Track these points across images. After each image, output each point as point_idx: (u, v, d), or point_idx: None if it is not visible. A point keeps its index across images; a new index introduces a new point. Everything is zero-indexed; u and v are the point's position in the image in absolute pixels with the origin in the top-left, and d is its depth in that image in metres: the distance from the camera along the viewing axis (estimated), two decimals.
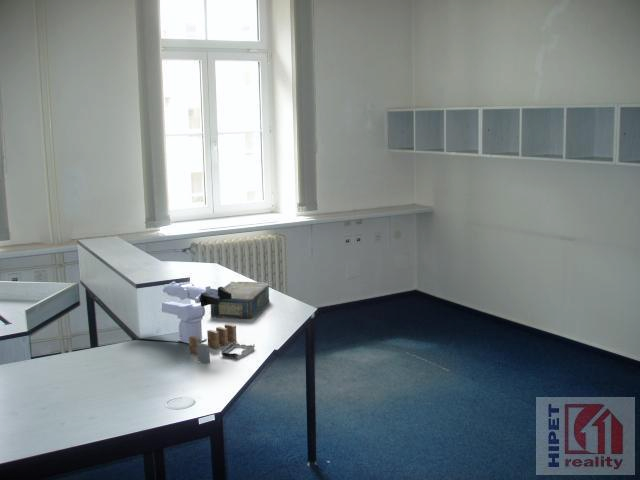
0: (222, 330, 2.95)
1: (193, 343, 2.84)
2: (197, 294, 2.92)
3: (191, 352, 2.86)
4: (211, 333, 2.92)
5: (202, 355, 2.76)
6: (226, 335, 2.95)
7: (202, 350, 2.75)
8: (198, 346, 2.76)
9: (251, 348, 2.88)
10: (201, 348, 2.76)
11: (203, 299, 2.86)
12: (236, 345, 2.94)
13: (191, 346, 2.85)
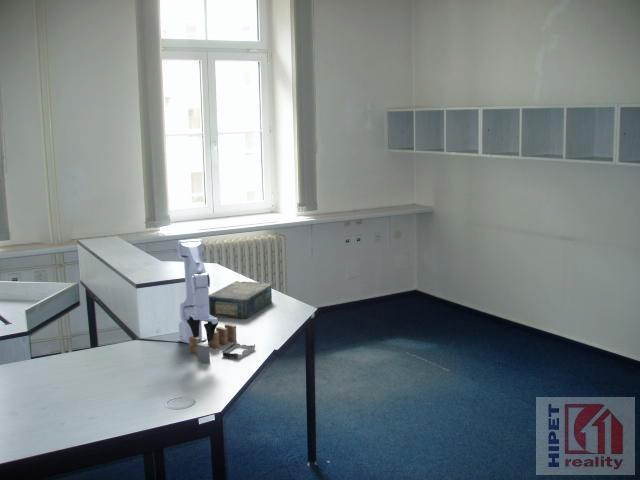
0: (222, 330, 2.95)
1: (193, 343, 2.84)
2: None
3: (191, 352, 2.86)
4: None
5: (202, 355, 2.76)
6: (226, 335, 2.95)
7: (202, 350, 2.75)
8: (198, 346, 2.76)
9: (251, 348, 2.88)
10: (201, 348, 2.76)
11: None
12: (237, 345, 2.94)
13: (191, 346, 2.85)
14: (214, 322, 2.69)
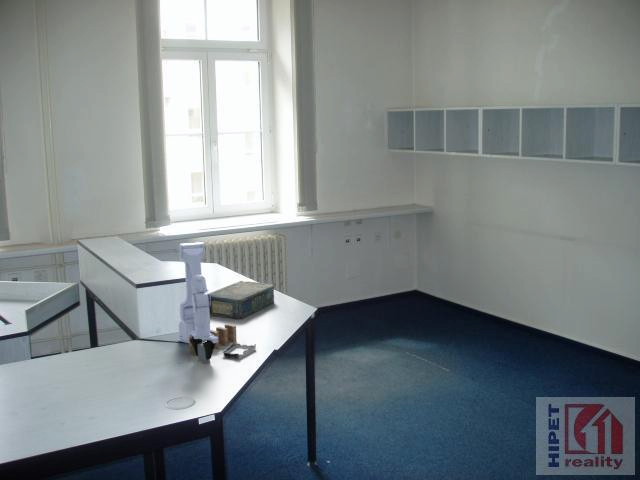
0: (222, 330, 2.95)
1: None
2: None
3: (191, 352, 2.86)
4: (211, 333, 2.92)
5: (202, 355, 2.76)
6: (226, 335, 2.95)
7: (202, 350, 2.75)
8: (198, 346, 2.76)
9: (252, 348, 2.88)
10: (201, 348, 2.76)
11: None
12: (237, 345, 2.93)
13: (191, 346, 2.85)
14: (215, 341, 2.71)
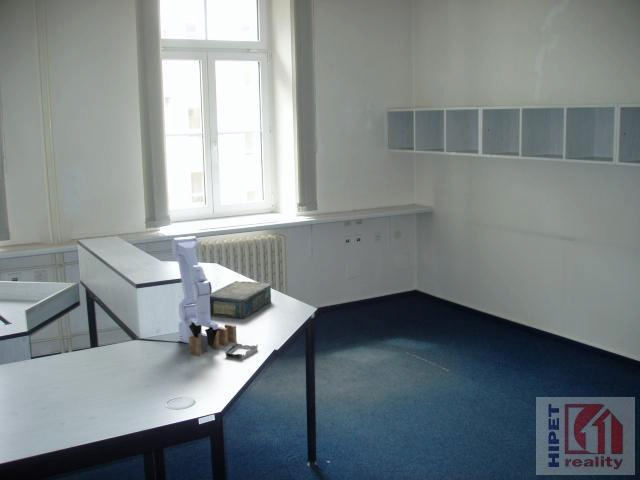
0: (222, 330, 2.95)
1: (193, 343, 2.84)
2: None
3: (191, 352, 2.86)
4: None
5: (203, 344, 2.88)
6: (226, 335, 2.95)
7: (203, 339, 2.88)
8: (199, 336, 2.89)
9: (254, 349, 2.88)
10: (202, 338, 2.88)
11: None
12: (239, 346, 2.93)
13: (191, 346, 2.85)
14: (215, 328, 2.83)
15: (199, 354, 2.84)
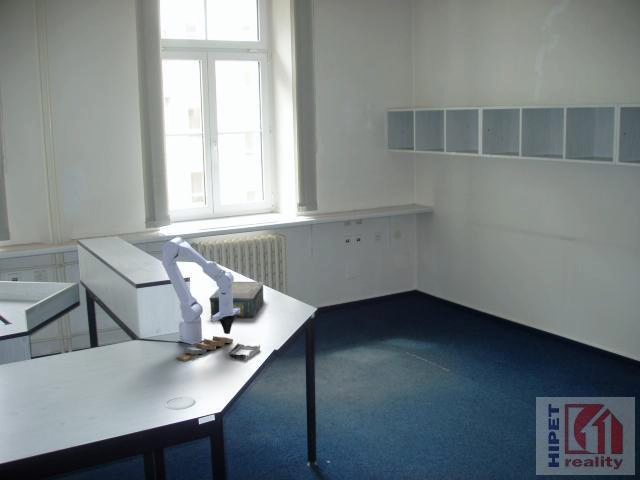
0: (210, 344, 2.90)
1: None
2: (222, 306, 2.94)
3: None
4: (199, 347, 2.88)
5: None
6: (217, 343, 2.91)
7: None
8: None
9: (257, 349, 2.87)
10: None
11: None
12: (241, 346, 2.92)
13: None
14: None
15: (197, 356, 2.83)
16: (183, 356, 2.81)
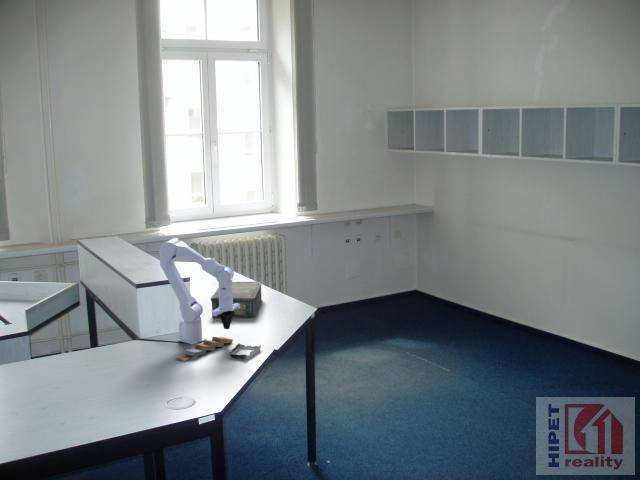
0: (210, 345, 2.90)
1: None
2: (222, 301, 2.94)
3: None
4: None
5: None
6: (216, 344, 2.91)
7: None
8: None
9: (257, 349, 2.87)
10: None
11: None
12: (241, 346, 2.92)
13: None
14: None
15: None
16: (183, 357, 2.80)
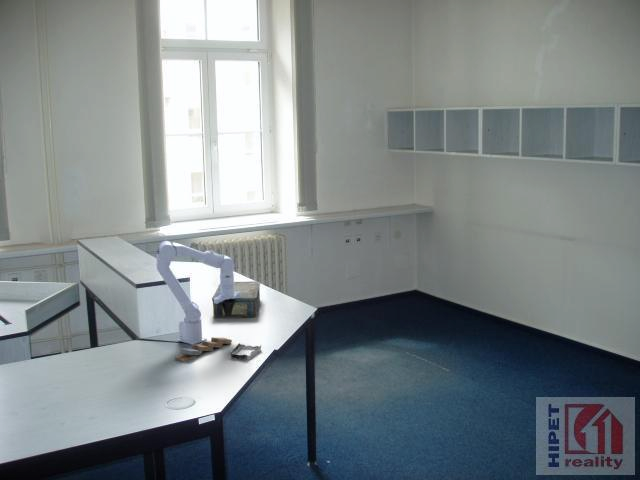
0: None
1: None
2: (223, 289, 2.99)
3: None
4: None
5: None
6: (215, 344, 2.90)
7: None
8: (183, 352, 2.81)
9: (258, 349, 2.87)
10: None
11: None
12: (242, 346, 2.92)
13: None
14: None
15: None
16: (182, 357, 2.80)
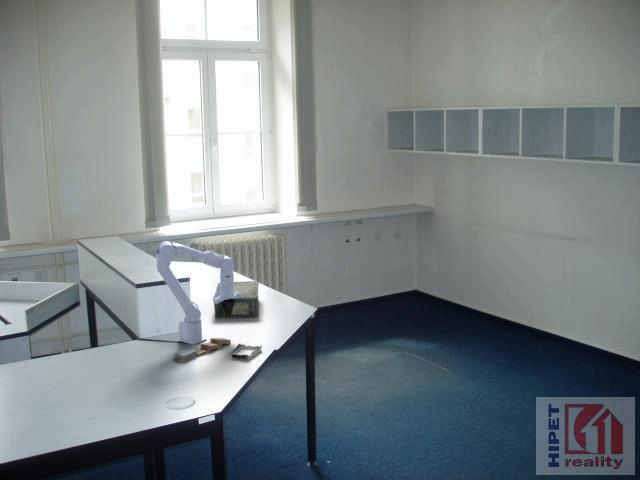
0: None
1: None
2: (223, 289, 2.99)
3: None
4: None
5: None
6: (214, 346, 2.89)
7: None
8: None
9: (258, 349, 2.87)
10: None
11: None
12: (242, 346, 2.92)
13: None
14: None
15: None
16: None
